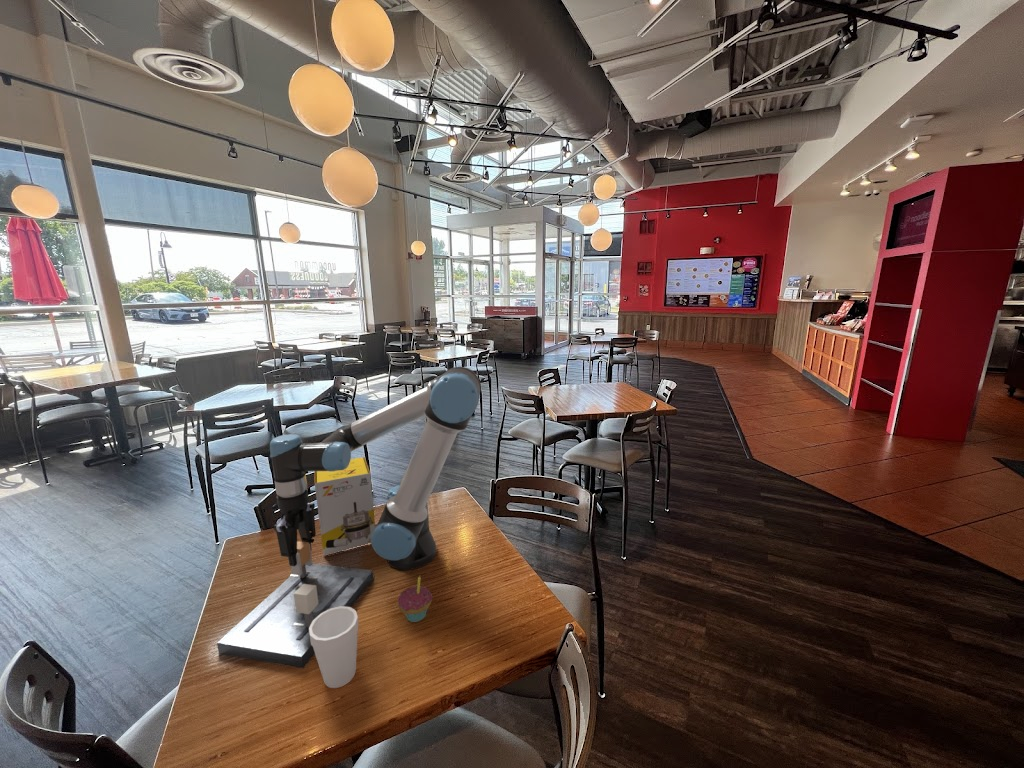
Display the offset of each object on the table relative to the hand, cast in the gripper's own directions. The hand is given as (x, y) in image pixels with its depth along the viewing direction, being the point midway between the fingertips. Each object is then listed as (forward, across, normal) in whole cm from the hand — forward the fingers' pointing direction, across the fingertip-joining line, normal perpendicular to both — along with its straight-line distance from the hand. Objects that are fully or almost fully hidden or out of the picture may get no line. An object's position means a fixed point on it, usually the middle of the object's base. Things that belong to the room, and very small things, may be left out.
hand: (302, 569), depth 116 cm
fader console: (+6, +9, +7) cm, 13 cm away
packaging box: (+6, -25, -2) cm, 26 cm away
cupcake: (+6, +5, +36) cm, 37 cm away
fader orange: (+2, 0, 0) cm, 2 cm away
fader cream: (+2, +16, +14) cm, 21 cm away
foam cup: (+6, +24, +27) cm, 37 cm away
